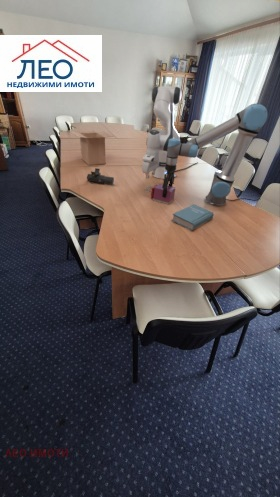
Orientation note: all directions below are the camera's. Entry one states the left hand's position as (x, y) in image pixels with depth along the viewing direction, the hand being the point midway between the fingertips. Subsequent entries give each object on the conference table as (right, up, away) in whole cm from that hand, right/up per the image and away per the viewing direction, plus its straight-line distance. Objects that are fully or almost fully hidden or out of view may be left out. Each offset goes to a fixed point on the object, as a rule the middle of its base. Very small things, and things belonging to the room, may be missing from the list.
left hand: (150, 176), depth 163 cm
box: (-58, +41, +74) cm, 102 cm away
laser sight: (-41, +3, +25) cm, 48 cm away
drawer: (+5, -14, +6) cm, 16 cm away
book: (+26, -35, -19) cm, 48 cm away
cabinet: (+10, -16, +4) cm, 20 cm away
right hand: (+12, -13, +1) cm, 18 cm away
